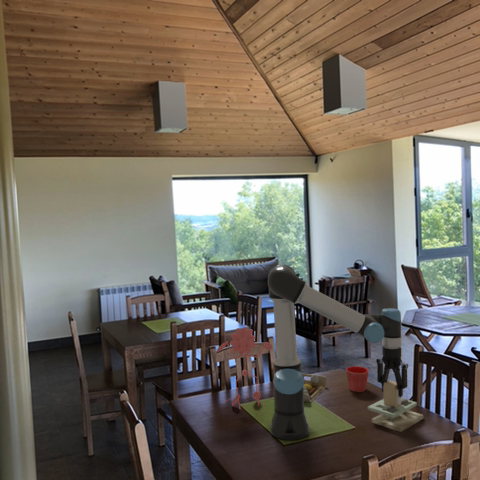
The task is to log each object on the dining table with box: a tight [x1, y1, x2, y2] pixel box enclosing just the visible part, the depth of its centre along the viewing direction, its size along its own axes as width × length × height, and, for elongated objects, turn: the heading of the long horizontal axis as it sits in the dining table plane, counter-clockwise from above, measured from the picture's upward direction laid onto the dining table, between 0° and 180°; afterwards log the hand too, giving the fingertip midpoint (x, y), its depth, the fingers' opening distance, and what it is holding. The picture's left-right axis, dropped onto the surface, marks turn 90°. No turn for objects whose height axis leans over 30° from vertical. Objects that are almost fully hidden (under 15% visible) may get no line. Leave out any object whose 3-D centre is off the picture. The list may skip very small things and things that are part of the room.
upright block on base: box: [367, 380, 418, 418], centre depth 203 cm, size 12×18×10 cm, turn 132°
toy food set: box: [272, 372, 328, 403], centre depth 237 cm, size 25×18×8 cm
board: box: [371, 398, 425, 433], centre depth 202 cm, size 13×18×7 cm
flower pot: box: [345, 365, 369, 393], centre depth 239 cm, size 11×11×10 cm
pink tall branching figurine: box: [215, 327, 273, 411], centre depth 225 cm, size 15×26×35 cm, turn 110°
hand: (392, 401), depth 203 cm, fingers closed on upright block on base, 5 cm apart
